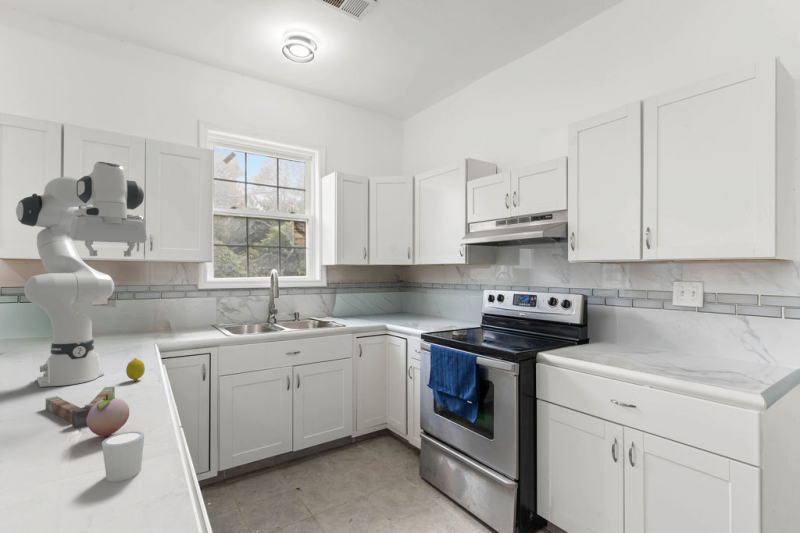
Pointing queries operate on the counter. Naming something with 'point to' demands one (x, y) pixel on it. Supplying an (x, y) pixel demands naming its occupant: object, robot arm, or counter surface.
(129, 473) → the shot glass
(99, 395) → the tongs arm
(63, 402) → the tongs base
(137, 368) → the lemon
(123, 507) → the counter surface
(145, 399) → the counter surface
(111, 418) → the decorative fruit
